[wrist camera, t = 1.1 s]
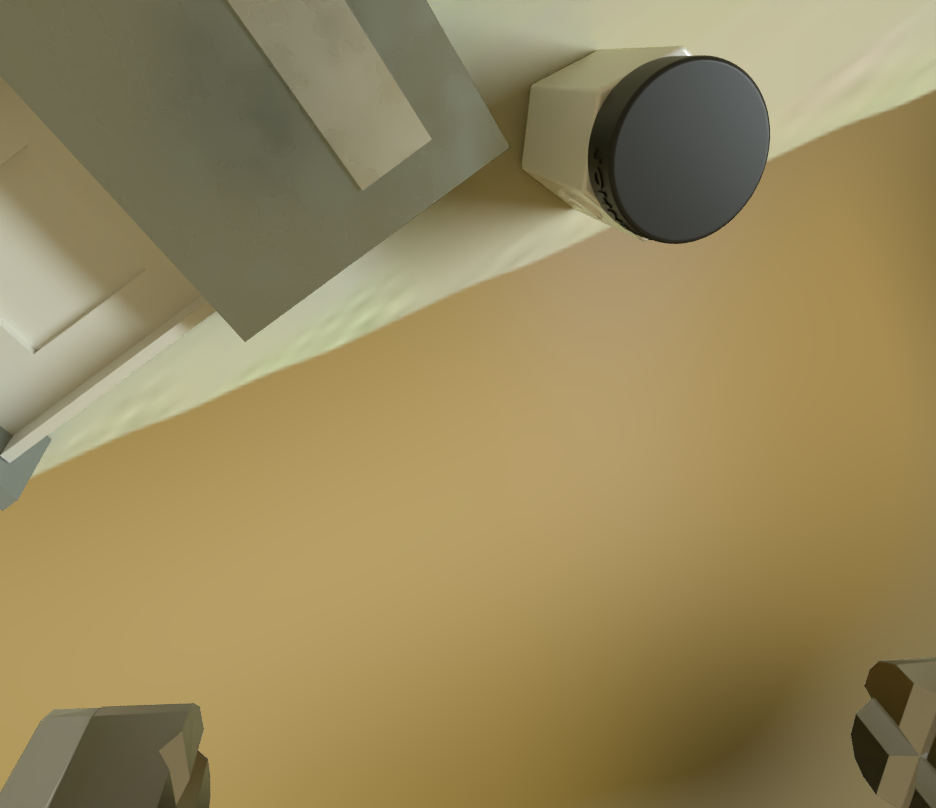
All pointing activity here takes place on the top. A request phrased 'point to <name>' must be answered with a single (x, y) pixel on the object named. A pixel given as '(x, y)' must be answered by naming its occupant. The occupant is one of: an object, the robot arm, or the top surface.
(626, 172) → the jar
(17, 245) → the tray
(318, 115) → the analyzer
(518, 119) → the top surface
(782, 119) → the top surface
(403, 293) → the top surface
